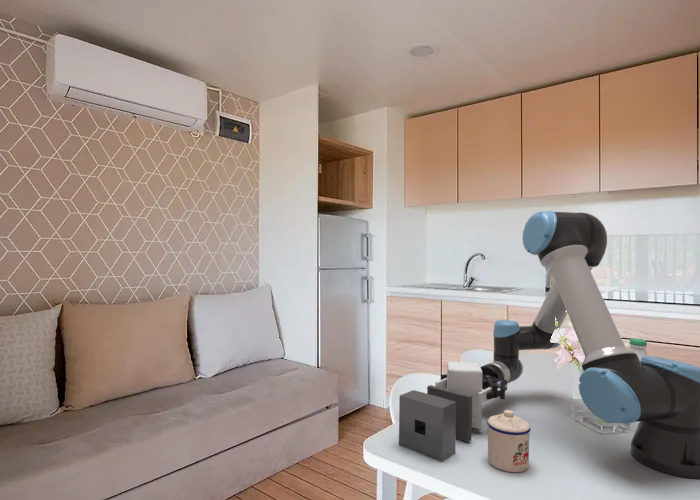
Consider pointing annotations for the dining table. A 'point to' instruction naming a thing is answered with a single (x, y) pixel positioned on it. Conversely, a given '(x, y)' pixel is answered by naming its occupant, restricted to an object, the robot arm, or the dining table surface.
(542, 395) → the dining table surface
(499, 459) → the teacup with lid
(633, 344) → the milk bottle
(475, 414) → the supplement box
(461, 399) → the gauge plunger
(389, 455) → the dining table surface
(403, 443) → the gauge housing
